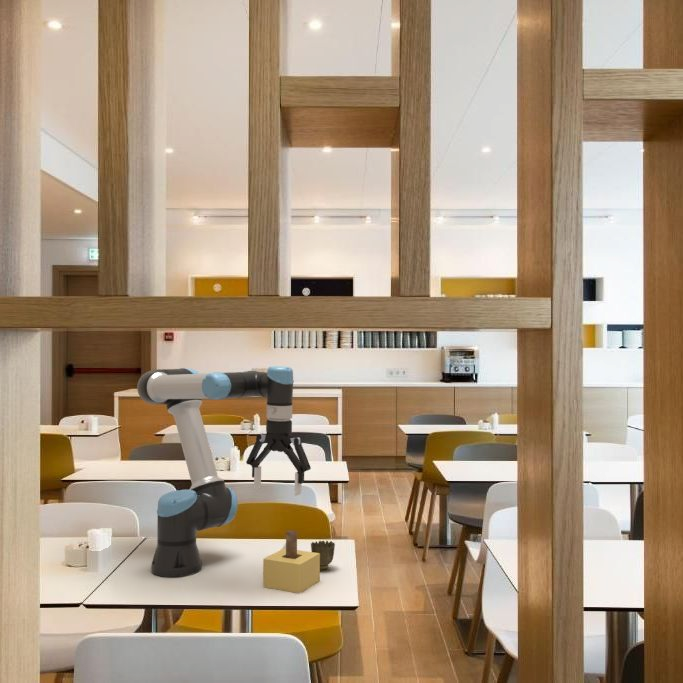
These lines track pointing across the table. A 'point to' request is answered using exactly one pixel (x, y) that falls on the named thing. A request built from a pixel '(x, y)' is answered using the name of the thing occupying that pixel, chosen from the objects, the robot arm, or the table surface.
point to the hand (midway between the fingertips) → (277, 491)
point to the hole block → (291, 571)
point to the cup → (324, 552)
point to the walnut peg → (291, 544)
